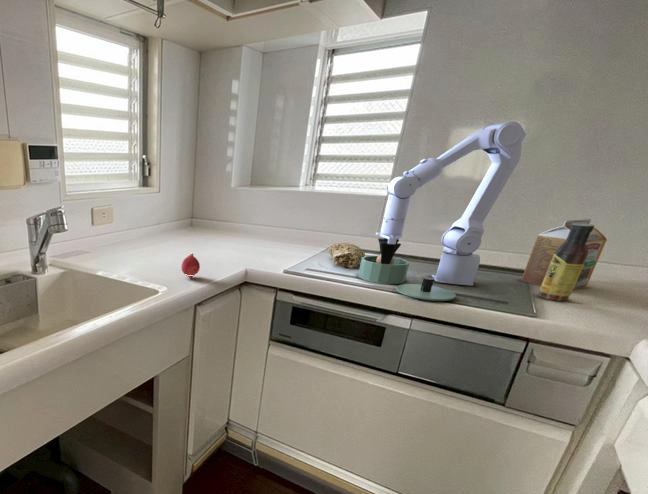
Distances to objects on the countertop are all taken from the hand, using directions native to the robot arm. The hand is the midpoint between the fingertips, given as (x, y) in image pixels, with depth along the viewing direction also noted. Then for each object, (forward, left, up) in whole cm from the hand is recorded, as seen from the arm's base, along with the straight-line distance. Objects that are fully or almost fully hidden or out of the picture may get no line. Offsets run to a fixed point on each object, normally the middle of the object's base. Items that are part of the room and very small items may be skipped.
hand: (384, 263), depth 126 cm
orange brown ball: (0, 0, -1) cm, 1 cm away
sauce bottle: (-41, +4, -5) cm, 42 cm away
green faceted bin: (0, 0, -5) cm, 5 cm away
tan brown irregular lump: (+11, -19, -5) cm, 23 cm away
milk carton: (-47, -14, -5) cm, 49 cm away
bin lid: (-10, +14, -4) cm, 18 cm away
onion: (+56, +24, -5) cm, 61 cm away
